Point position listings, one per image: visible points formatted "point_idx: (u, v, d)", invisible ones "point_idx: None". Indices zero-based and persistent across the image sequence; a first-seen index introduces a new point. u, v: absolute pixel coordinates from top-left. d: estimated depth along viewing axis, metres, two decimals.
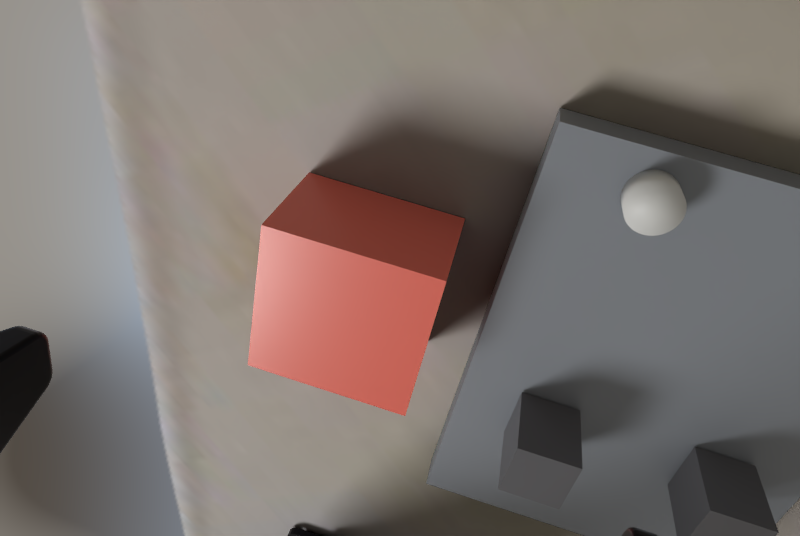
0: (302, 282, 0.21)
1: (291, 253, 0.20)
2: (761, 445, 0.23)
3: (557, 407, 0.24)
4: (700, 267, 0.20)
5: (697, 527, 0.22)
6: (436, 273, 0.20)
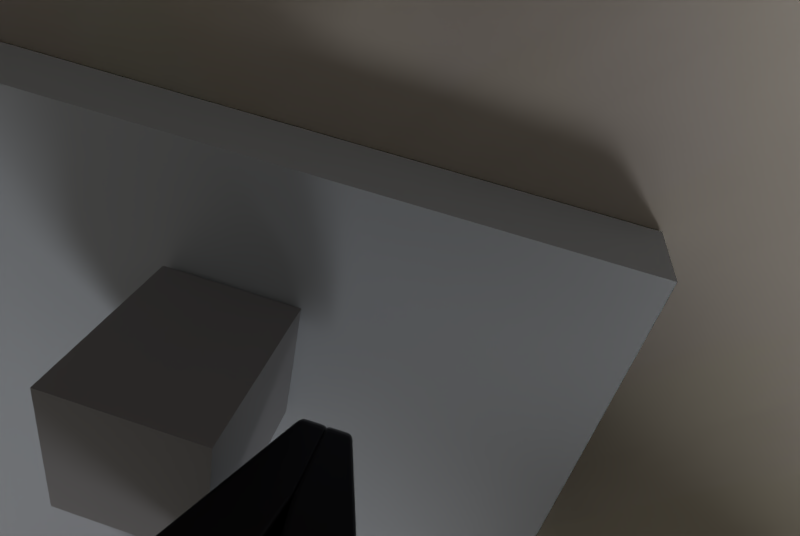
0: None
1: None
2: (126, 263, 0.10)
3: None
4: None
5: (114, 527, 0.09)
6: None
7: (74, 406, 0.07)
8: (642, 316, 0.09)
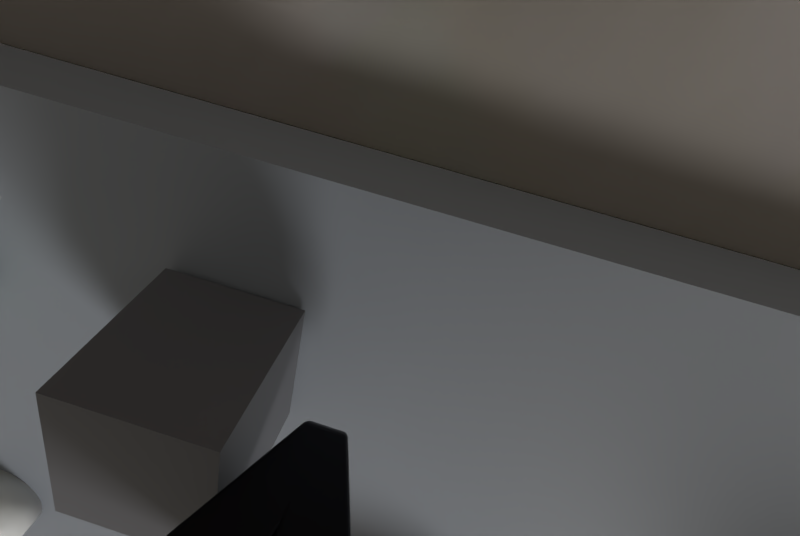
0: None
1: None
2: (406, 350, 0.10)
3: None
4: None
5: (120, 532, 0.09)
6: None
7: (80, 410, 0.07)
8: None
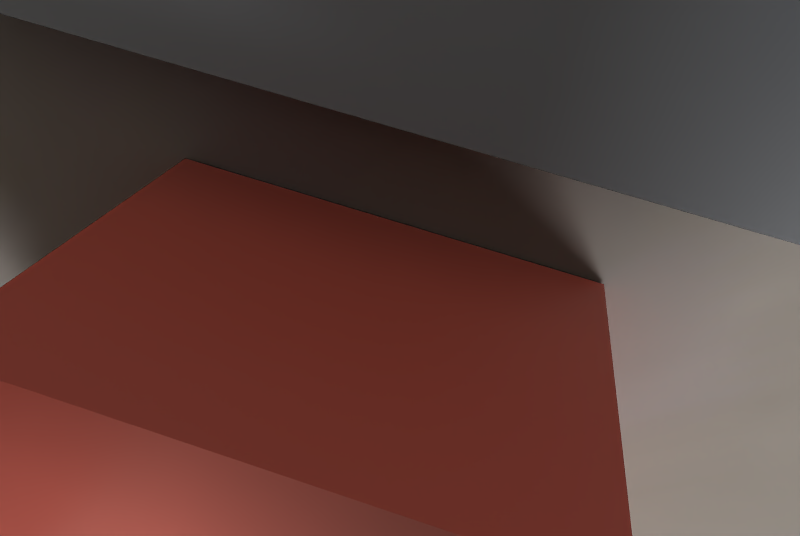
0: None
1: None
2: None
3: None
4: None
5: None
6: None
7: None
8: None
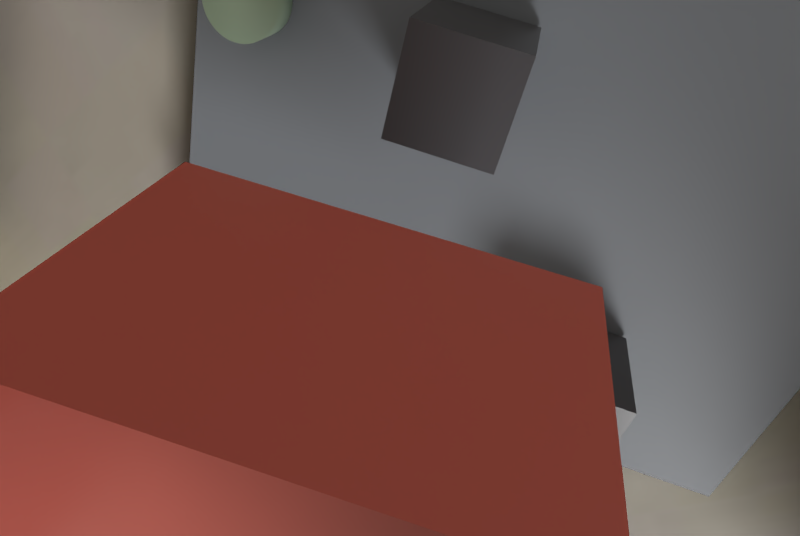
0: None
1: None
2: (609, 60, 0.14)
3: None
4: (303, 186, 0.17)
5: (428, 152, 0.12)
6: None
7: (439, 30, 0.11)
8: None
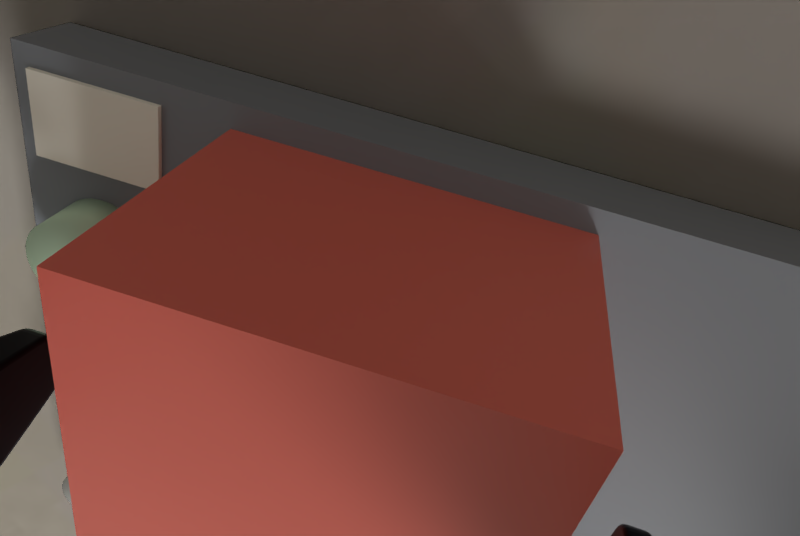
0: None
1: None
2: None
3: None
4: None
5: None
6: None
7: None
8: None
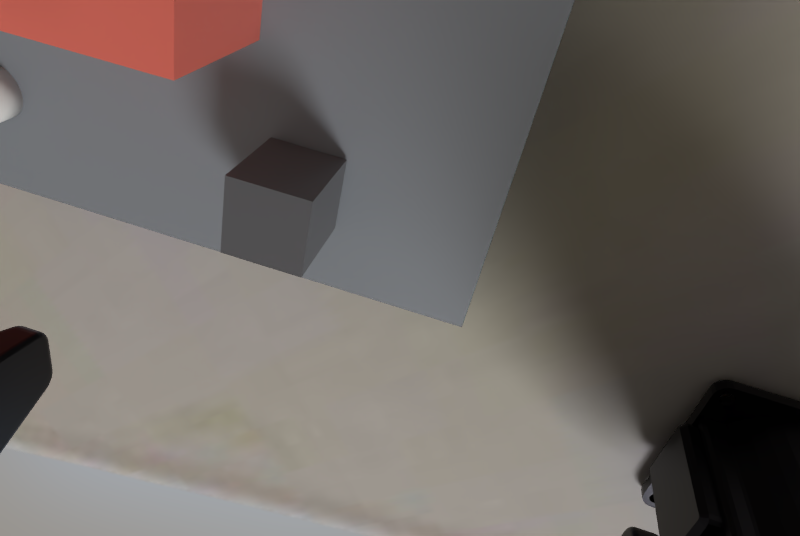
0: None
1: None
2: None
3: None
4: None
5: None
6: None
7: None
8: None
